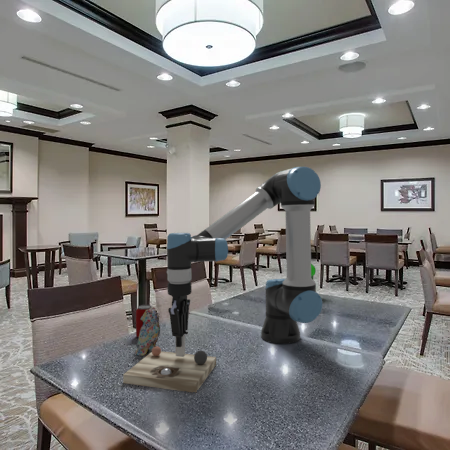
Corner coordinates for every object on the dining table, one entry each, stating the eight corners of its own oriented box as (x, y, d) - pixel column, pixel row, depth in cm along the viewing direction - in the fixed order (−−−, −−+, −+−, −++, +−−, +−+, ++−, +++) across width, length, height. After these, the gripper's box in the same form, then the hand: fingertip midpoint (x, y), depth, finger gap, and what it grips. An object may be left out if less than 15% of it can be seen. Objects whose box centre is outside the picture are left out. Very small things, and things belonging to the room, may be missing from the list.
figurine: (133, 348, 129) (132, 307, 129) (157, 344, 133) (157, 304, 133) (137, 356, 121) (136, 312, 121) (163, 352, 125) (162, 310, 125)
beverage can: (149, 340, 138) (149, 309, 138) (133, 339, 139) (132, 308, 139) (156, 334, 144) (156, 304, 144) (140, 333, 146) (140, 304, 146)
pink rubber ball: (162, 354, 117) (162, 345, 117) (158, 358, 114) (158, 348, 114) (154, 353, 118) (154, 344, 118) (150, 357, 115) (149, 347, 115)
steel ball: (173, 379, 105) (173, 366, 106) (169, 382, 102) (169, 369, 102) (162, 379, 106) (162, 367, 106) (158, 382, 102) (158, 369, 103)
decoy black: (208, 362, 111) (208, 349, 111) (204, 367, 107) (204, 354, 107) (196, 360, 112) (196, 348, 112) (192, 366, 108) (192, 352, 108)
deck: (153, 357, 121) (153, 350, 120) (216, 364, 115) (216, 357, 115) (123, 383, 102) (123, 374, 102) (196, 392, 96) (195, 383, 96)
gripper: (176, 277, 120) (177, 347, 121) (159, 285, 108) (160, 362, 108) (197, 278, 118) (198, 349, 119) (183, 286, 106) (184, 365, 106)
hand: (180, 355), depth 114 cm, fingers closed
